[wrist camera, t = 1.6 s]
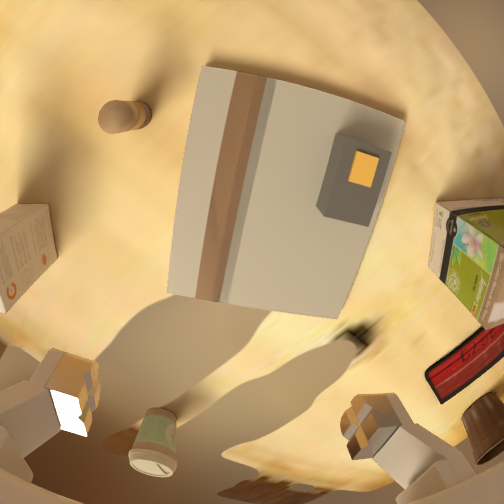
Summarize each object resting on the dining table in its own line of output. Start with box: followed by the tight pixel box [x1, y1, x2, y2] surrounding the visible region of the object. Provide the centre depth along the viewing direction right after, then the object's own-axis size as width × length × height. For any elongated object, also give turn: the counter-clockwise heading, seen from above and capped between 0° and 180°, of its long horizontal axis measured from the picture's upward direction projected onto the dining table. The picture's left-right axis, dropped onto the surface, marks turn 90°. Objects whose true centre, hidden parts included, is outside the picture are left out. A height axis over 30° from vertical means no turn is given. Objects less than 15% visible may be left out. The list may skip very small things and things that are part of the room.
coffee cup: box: [129, 408, 177, 477], centre depth 45 cm, size 8×8×12 cm
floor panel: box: [167, 66, 405, 319], centre depth 33 cm, size 26×22×2 cm
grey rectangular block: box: [316, 134, 392, 227], centre depth 29 cm, size 8×5×4 cm, turn 168°
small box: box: [0, 204, 57, 313], centre depth 28 cm, size 8×6×13 cm
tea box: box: [428, 198, 504, 330], centre depth 29 cm, size 15×10×15 cm, turn 97°
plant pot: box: [462, 392, 504, 466], centre depth 51 cm, size 16×16×16 cm
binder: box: [425, 324, 504, 404], centre depth 47 cm, size 16×2×21 cm
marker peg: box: [98, 100, 152, 134], centre depth 26 cm, size 3×3×7 cm
